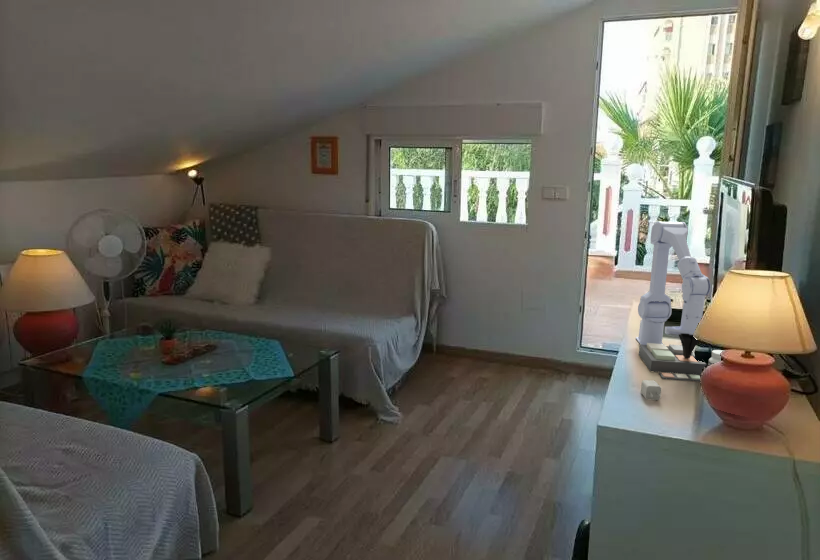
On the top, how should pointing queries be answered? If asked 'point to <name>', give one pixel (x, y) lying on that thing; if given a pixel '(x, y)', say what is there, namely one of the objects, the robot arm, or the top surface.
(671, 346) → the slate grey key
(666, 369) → the keyguard pad
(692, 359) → the terracotta key
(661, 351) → the sage key
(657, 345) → the ivory key
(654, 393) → the usb wall charger
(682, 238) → the robot arm
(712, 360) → the pill bottle
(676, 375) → the strip
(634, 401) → the top surface
